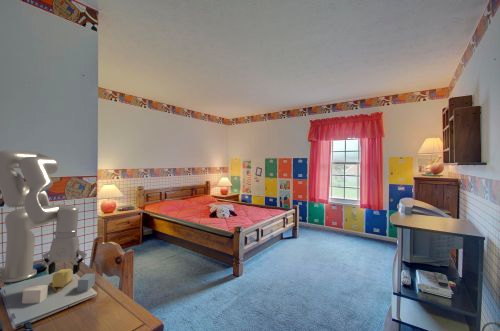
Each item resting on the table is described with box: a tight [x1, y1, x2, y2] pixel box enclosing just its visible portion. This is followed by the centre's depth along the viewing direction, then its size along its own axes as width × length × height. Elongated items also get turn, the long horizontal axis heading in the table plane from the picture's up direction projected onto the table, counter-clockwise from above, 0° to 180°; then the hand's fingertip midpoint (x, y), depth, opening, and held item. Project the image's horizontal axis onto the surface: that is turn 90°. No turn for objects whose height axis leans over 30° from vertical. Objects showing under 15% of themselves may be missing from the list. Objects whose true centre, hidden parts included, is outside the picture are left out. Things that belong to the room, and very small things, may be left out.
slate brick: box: [76, 273, 96, 293], centre depth 103 cm, size 6×4×5 cm, turn 9°
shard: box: [48, 278, 74, 293], centre depth 103 cm, size 11×8×2 cm
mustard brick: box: [51, 268, 72, 287], centre depth 103 cm, size 6×4×5 cm, turn 10°
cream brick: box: [21, 284, 49, 304], centre depth 92 cm, size 6×4×5 cm, turn 99°
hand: (63, 272), depth 104 cm, fingers open, 9 cm apart
